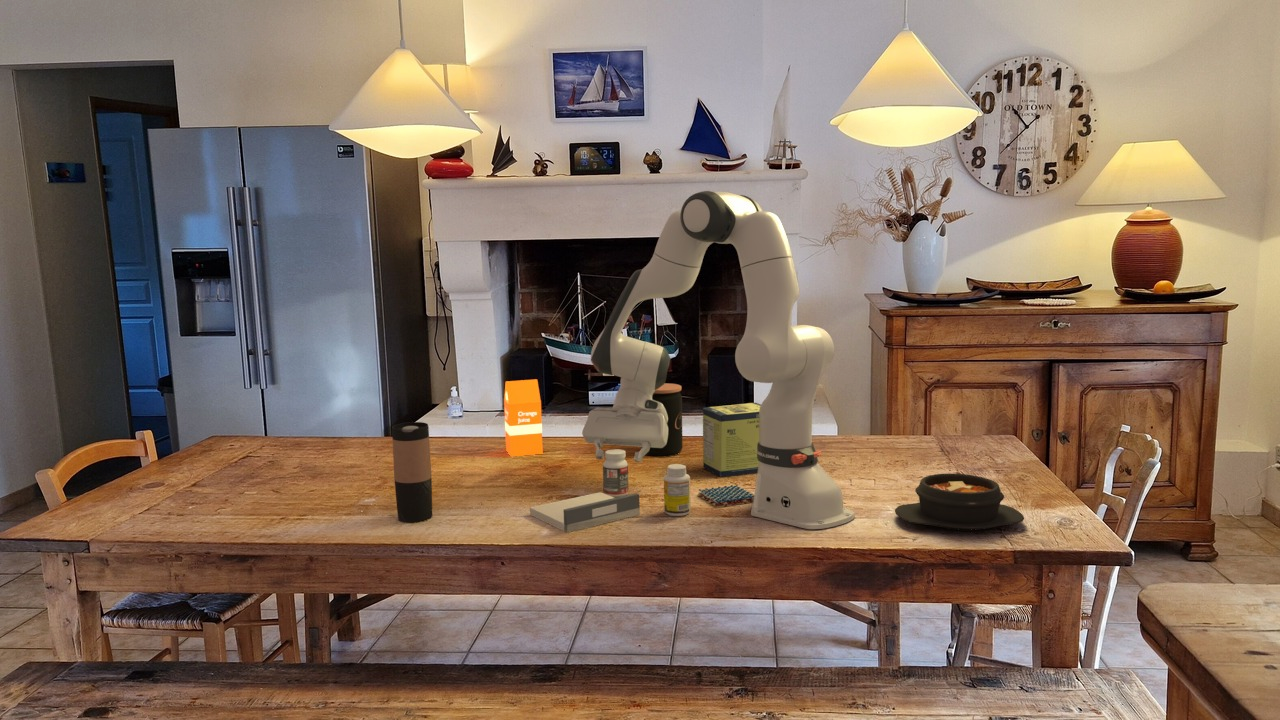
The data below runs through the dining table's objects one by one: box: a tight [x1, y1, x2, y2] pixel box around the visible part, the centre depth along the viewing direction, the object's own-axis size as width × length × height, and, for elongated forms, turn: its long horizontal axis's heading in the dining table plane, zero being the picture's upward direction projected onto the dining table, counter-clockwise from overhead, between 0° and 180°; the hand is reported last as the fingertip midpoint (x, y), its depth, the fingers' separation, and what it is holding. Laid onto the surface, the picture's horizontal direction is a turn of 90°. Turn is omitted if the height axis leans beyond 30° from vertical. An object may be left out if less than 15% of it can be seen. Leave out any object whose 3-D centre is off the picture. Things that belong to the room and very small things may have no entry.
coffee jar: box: [645, 382, 683, 457], centre depth 249 cm, size 11×11×18 cm
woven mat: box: [697, 484, 754, 508], centre depth 207 cm, size 10×11×2 cm
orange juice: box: [503, 378, 544, 457], centre depth 251 cm, size 8×9×20 cm
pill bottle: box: [602, 448, 629, 498], centre depth 212 cm, size 6×6×10 cm
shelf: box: [529, 491, 641, 533], centre depth 197 cm, size 15×18×4 cm
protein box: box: [702, 402, 762, 478], centre depth 231 cm, size 10×16×16 cm
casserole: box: [894, 473, 1025, 532], centre depth 188 cm, size 25×19×8 cm
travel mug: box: [391, 421, 433, 524], centre depth 196 cm, size 8×8×20 cm
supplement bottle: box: [663, 463, 691, 517], centre depth 197 cm, size 6×6×10 cm
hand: (618, 459), depth 214 cm, fingers open, 8 cm apart
